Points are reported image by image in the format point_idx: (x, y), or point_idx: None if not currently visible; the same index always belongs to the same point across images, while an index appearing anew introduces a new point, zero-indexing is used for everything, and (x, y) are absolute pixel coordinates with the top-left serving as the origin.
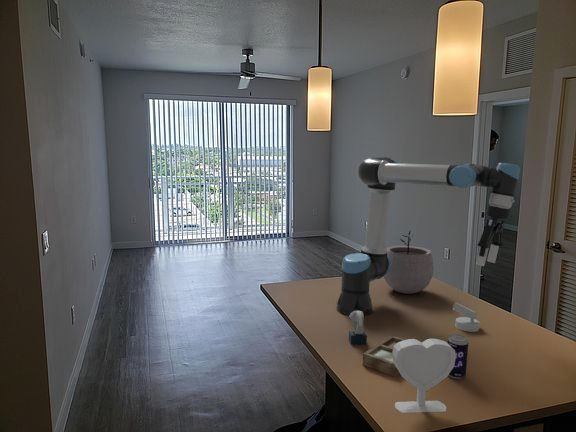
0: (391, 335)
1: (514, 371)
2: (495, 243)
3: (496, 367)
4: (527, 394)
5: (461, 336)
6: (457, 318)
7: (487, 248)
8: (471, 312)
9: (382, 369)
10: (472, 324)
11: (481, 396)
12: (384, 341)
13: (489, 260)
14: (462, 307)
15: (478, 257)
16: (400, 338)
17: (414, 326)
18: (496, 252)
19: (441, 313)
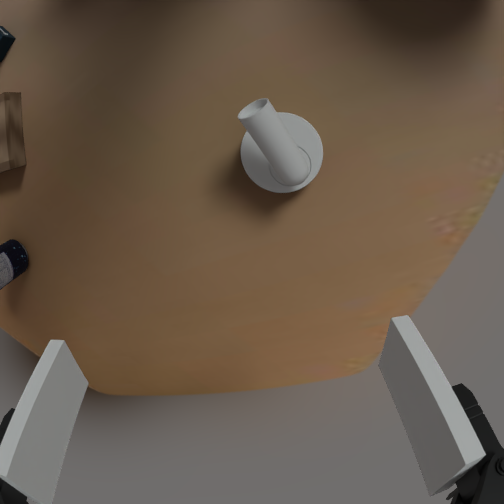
0: (3, 93)
1: (110, 327)
2: (473, 489)
3: (96, 299)
4: None
5: None
6: (280, 115)
7: (35, 500)
8: (278, 170)
9: None
10: (260, 178)
11: (12, 304)
12: None
13: (392, 341)
14: (258, 139)
15: (32, 391)
16: (4, 116)
17: (157, 37)
18: (412, 440)
19: (344, 40)
